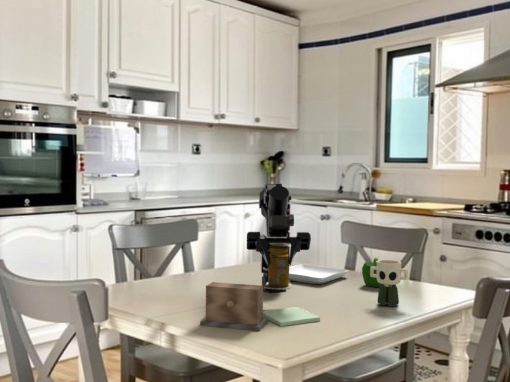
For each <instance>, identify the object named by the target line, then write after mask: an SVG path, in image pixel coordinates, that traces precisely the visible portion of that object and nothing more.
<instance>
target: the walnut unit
mask: <svg viewBox="0 0 510 382" xmlns="http://www.w3.org/2000/svg"><path fill="white" fill-rule="evenodd" d="M263 311H264V290H263V286H262V285H257V284H244V283H243V284H242V283H230V282H217V281H212V282H210V283H208V284H206V285H205V317H204V318H202V319H201V320H200V321H199V326H203V327H204V326H205V327H216V328H223V329H224V328H225V329H236V330H245V331H247V330H248V331H255V332H260V331H261V330H262V329H263V328H264V327H265V326H266V325H267V324H268V323H269V320H268V319H266V318H265V317H263Z"/></svg>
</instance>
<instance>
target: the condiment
mask: <svg viewBox="0 0 510 382" xmlns="http://www.w3.org/2000/svg"><path fill="white" fill-rule="evenodd" d="M288 245H289V244H271V245H270V254H269V265H268V282H267V283H266V285H265V287H264V288H267V289H286V290H290V289H291V286H292V282H290V280H289V267H290V265H289V258H290V253H289V246H288Z"/></svg>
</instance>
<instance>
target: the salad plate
mask: <svg viewBox="0 0 510 382" xmlns="http://www.w3.org/2000/svg"><path fill="white" fill-rule="evenodd" d="M349 271H350V270H349V269H344V268H337V267H331V266H323V265H313V264H303V263H302V264H301V263H300V264H296V265H292V266H291V265H290V266H289V281H293V282H298V283H305V284H312V285H321V284H325V283H329V282H332V281H334V280H335V281H336V280H337V279H340V278H343V277H344V276H346V275H347V274H348V273H349Z"/></svg>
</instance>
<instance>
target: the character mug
mask: <svg viewBox="0 0 510 382" xmlns="http://www.w3.org/2000/svg"><path fill="white" fill-rule="evenodd" d="M376 262H377V267H375V266H372V267H371V268H370V276H371V277H375V278H377V281H378V282H379V283H381V285H380V287H378V292H377V293H378V294H377V295H378V296H377V304H379V305H381V306H386V304H387V305H388V306H392V307H394V306H398V305H399V303H400V300H399V299H400V298H399V291H398V287H397V285H399V284H400V283H401V281H403V280H404V281H406V280H408V274H409V273H408V272H409V271H408V269H407V268H402V262H401V261H399V260H395V259H378V261H376ZM374 270H377V274H374ZM402 273H403V274H404V275H403V276H402Z"/></svg>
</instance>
